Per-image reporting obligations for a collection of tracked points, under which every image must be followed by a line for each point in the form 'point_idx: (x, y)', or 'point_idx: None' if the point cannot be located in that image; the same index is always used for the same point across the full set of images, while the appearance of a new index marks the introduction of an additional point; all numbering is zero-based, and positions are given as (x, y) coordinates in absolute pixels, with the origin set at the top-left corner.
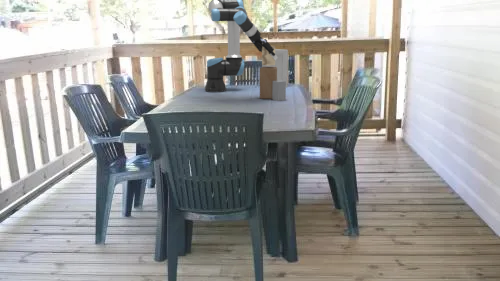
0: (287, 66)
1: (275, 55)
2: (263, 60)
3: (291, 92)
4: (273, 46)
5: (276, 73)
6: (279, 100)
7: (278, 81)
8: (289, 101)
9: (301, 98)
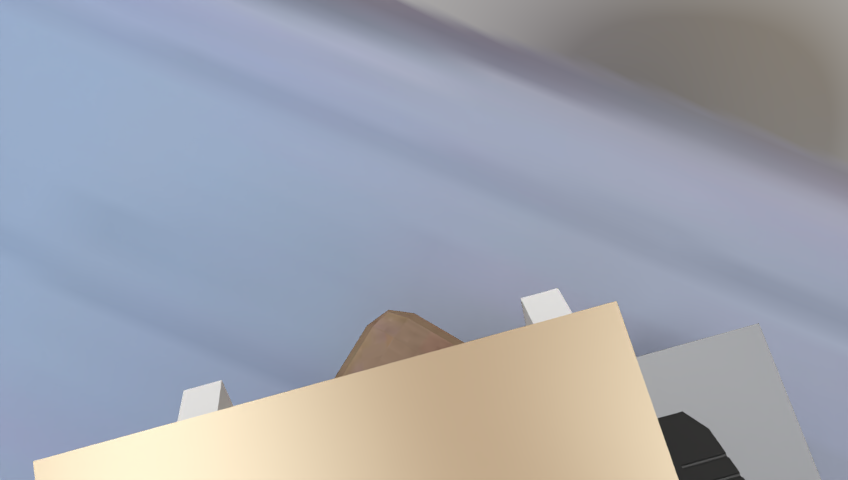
0: None
1: None
2: None
3: (164, 79)
4: (664, 450)
5: None
6: None
7: (758, 457)
8: (785, 359)
9: (611, 145)
